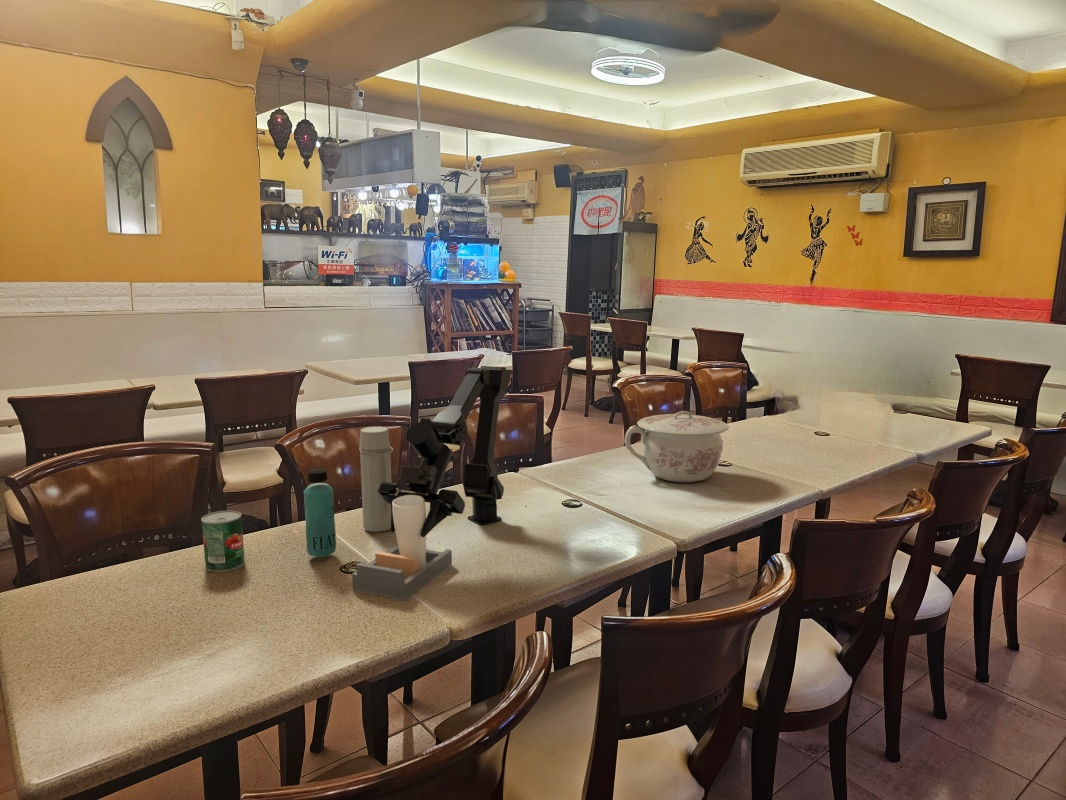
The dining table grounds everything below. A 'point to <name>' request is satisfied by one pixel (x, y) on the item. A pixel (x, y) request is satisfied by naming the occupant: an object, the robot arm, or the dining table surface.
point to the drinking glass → (410, 526)
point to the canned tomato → (223, 540)
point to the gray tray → (399, 576)
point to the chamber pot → (679, 445)
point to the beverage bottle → (319, 515)
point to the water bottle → (375, 477)
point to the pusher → (397, 562)
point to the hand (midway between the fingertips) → (407, 533)
